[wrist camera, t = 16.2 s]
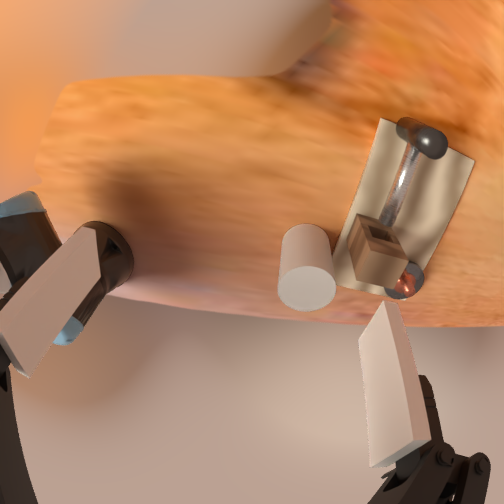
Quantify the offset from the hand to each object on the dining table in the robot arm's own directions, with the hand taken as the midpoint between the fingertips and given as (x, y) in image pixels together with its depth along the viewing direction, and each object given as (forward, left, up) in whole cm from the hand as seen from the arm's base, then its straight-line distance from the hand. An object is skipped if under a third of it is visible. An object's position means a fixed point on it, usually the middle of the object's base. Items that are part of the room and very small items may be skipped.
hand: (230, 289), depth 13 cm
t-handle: (+18, +1, -33) cm, 38 cm away
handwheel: (+28, -17, -33) cm, 47 cm away
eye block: (+23, -8, -35) cm, 42 cm away
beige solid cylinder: (+9, -17, -35) cm, 40 cm away
